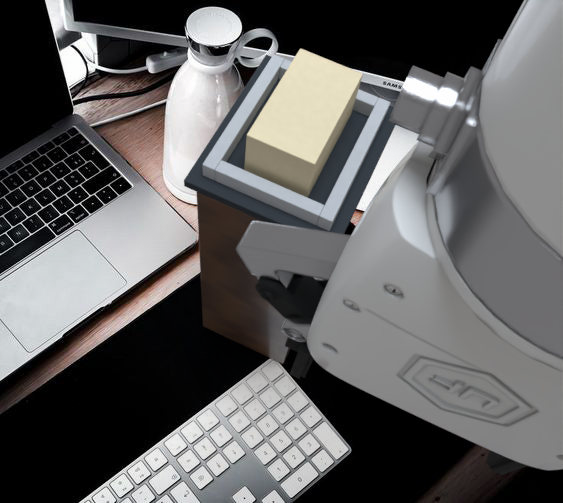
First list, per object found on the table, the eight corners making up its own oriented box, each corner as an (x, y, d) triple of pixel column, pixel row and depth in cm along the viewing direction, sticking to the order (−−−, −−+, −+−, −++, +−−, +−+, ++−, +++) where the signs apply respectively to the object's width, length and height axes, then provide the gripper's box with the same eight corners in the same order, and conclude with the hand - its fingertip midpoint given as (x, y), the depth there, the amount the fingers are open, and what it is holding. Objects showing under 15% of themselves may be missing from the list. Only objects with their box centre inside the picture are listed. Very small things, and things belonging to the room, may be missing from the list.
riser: (330, 263, 75) (388, 111, 50) (283, 364, 68) (322, 248, 44) (256, 230, 76) (276, 65, 51) (202, 326, 70) (196, 191, 45)
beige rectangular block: (351, 114, 48) (363, 73, 44) (306, 200, 44) (315, 164, 40) (293, 90, 49) (300, 47, 45) (243, 173, 45) (246, 134, 41)
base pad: (399, 116, 50) (407, 98, 48) (334, 253, 44) (340, 239, 42) (265, 61, 51) (267, 40, 49) (183, 186, 45) (182, 169, 43)
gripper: (181, 168, 13) (199, 384, 28) (1046, 550, 11) (563, 561, 26) (319, -40, 16) (269, 253, 31) (998, 224, 14) (595, 401, 29)
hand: (402, 393), depth 29 cm, fingers open, 9 cm apart
